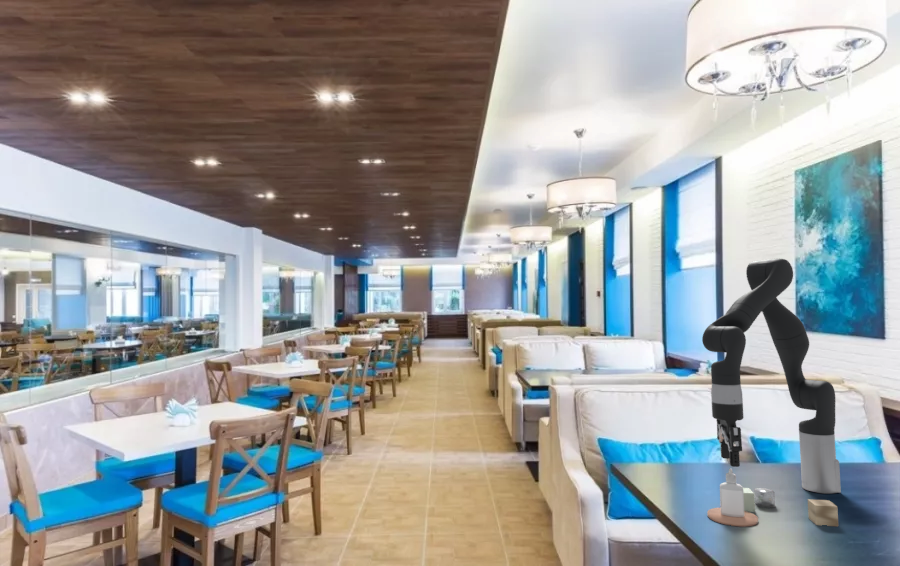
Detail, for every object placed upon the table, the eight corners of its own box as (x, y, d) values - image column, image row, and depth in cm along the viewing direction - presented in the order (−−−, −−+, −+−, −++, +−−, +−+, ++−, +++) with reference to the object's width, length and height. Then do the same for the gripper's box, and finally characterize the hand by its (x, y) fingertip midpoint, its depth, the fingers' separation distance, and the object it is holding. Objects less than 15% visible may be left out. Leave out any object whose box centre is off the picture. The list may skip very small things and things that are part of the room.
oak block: (829, 519, 146) (828, 500, 146) (838, 526, 141) (837, 506, 142) (808, 518, 147) (807, 499, 148) (816, 525, 142) (815, 505, 143)
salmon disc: (749, 511, 152) (749, 508, 153) (764, 528, 141) (764, 524, 141) (702, 509, 155) (702, 506, 155) (713, 525, 143) (713, 521, 143)
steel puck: (771, 502, 160) (770, 488, 160) (777, 508, 155) (777, 493, 155) (752, 501, 161) (751, 487, 161) (758, 507, 156) (757, 492, 156)
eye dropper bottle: (739, 519, 144) (737, 472, 145) (718, 514, 149) (716, 468, 150) (747, 516, 147) (745, 469, 148) (725, 510, 151) (723, 465, 152)
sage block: (749, 506, 157) (748, 488, 158) (755, 512, 153) (754, 493, 153) (730, 505, 159) (729, 487, 159) (735, 511, 154) (734, 492, 154)
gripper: (750, 405, 142) (754, 470, 141) (734, 397, 156) (737, 455, 155) (718, 404, 144) (722, 469, 143) (705, 396, 158) (708, 455, 157)
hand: (730, 462), depth 149 cm, fingers open, 8 cm apart
